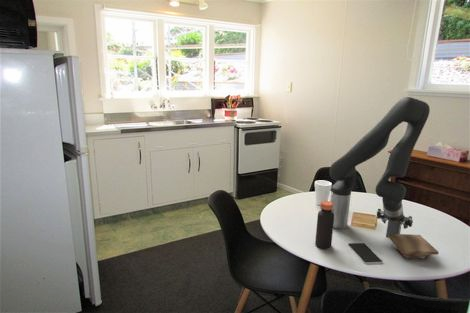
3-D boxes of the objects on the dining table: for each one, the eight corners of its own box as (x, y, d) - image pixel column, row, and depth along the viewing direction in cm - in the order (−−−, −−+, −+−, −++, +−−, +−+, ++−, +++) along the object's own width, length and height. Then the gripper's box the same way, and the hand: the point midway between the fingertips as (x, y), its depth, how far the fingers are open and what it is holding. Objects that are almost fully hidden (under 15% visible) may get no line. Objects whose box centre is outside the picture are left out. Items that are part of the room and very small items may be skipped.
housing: (397, 240, 141) (400, 220, 139) (385, 236, 144) (388, 216, 142) (399, 235, 145) (402, 216, 142) (388, 232, 148) (391, 213, 145)
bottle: (313, 241, 139) (317, 199, 134) (328, 241, 138) (332, 200, 134) (317, 249, 132) (321, 206, 127) (332, 249, 132) (337, 206, 127)
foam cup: (311, 200, 185) (312, 180, 182) (325, 200, 186) (327, 180, 183) (316, 207, 176) (318, 185, 173) (332, 206, 177) (334, 185, 174)
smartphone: (364, 242, 137) (383, 261, 123) (364, 245, 137) (383, 264, 123) (347, 243, 136) (364, 262, 122) (346, 245, 136) (364, 265, 122)
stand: (401, 261, 124) (402, 250, 123) (386, 243, 138) (387, 233, 137) (436, 262, 124) (438, 251, 123) (418, 244, 137) (419, 234, 136)
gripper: (413, 205, 129) (414, 221, 140) (377, 197, 137) (380, 213, 149) (409, 221, 126) (410, 236, 137) (373, 212, 134) (376, 226, 146)
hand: (394, 224), depth 143 cm, fingers open, 8 cm apart
